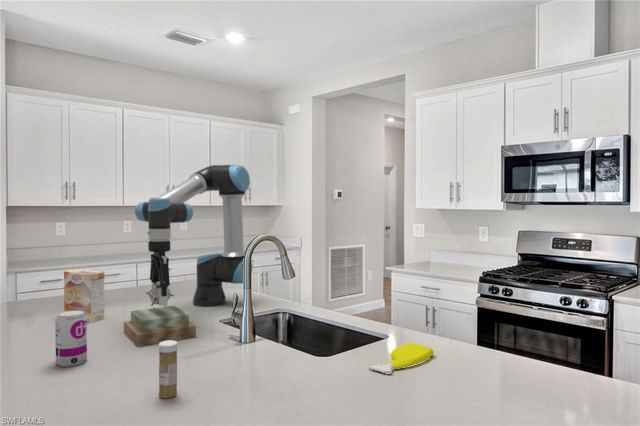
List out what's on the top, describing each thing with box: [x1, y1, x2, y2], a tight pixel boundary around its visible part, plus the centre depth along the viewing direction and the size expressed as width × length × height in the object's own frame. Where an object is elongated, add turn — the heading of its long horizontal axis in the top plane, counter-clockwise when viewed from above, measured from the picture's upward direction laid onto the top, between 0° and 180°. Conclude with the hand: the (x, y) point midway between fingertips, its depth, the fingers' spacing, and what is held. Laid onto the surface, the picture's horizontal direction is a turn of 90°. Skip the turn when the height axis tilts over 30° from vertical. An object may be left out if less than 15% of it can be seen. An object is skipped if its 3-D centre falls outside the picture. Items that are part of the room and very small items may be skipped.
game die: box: [145, 283, 175, 307], centre depth 167 cm, size 9×8×10 cm
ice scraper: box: [367, 342, 435, 374], centre depth 141 cm, size 3×11×24 cm
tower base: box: [123, 305, 197, 348], centre depth 167 cm, size 20×20×8 cm
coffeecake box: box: [63, 268, 105, 323], centre depth 188 cm, size 15×7×20 cm, turn 68°
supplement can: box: [54, 310, 88, 368], centre depth 138 cm, size 8×8×15 cm
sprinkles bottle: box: [158, 340, 179, 399], centre depth 116 cm, size 5×5×13 cm
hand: (159, 302), depth 167 cm, fingers closed on game die, 9 cm apart
